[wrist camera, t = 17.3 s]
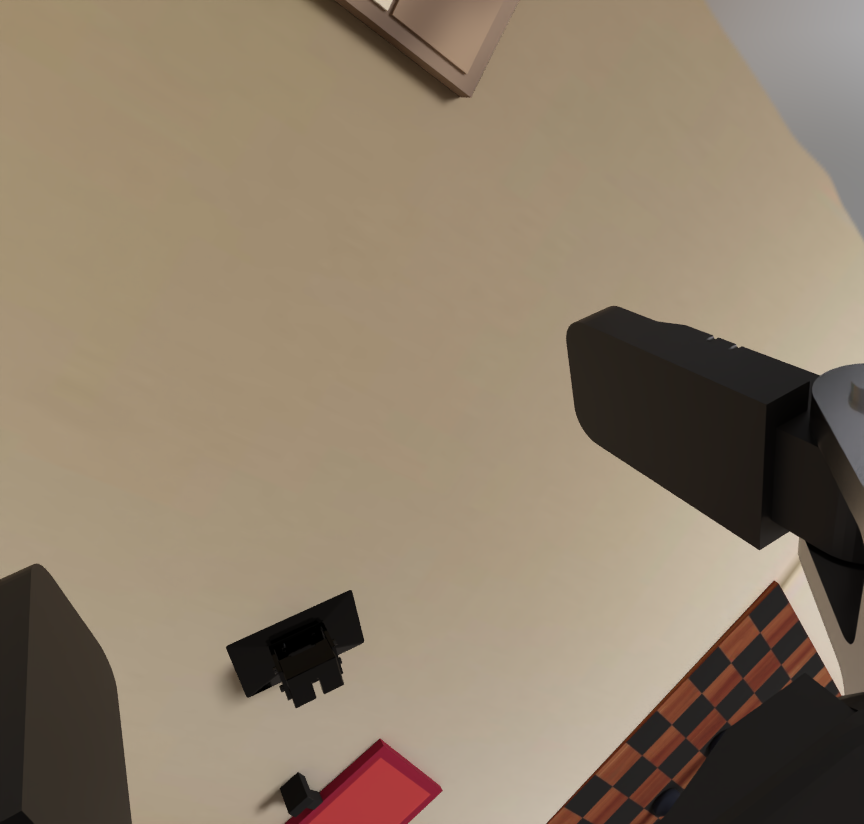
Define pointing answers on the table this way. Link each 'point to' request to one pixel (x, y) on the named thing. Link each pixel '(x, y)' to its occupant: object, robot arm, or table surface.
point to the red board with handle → (363, 792)
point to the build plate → (299, 651)
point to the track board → (440, 34)
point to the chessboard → (698, 716)
